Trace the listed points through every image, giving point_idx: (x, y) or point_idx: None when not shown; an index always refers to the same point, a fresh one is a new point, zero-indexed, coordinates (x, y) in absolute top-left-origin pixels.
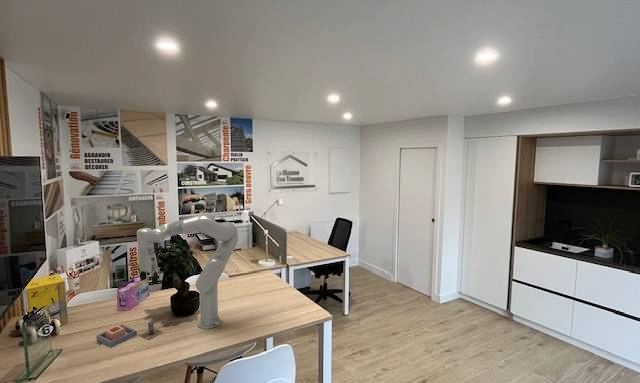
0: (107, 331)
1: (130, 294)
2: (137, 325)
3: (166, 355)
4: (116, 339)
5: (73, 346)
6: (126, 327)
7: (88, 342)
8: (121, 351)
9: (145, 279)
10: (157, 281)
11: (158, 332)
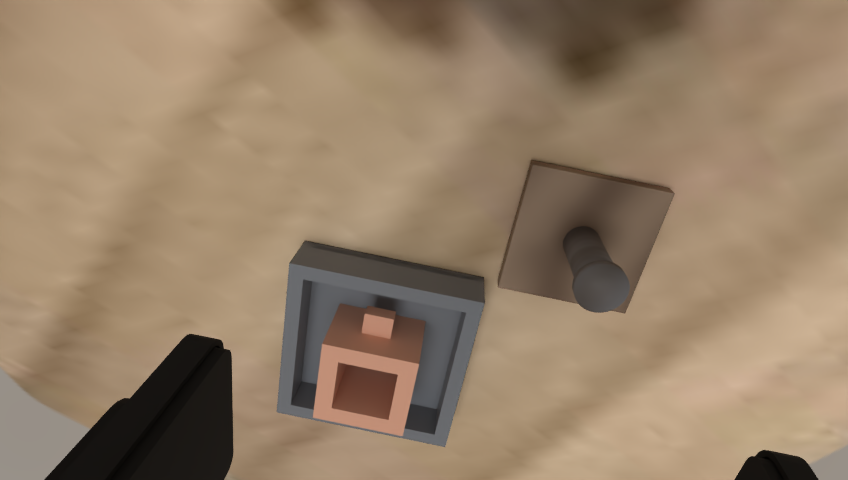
0: (342, 421)
1: None
2: (342, 146)
3: (844, 385)
4: (446, 416)
5: None
6: (368, 289)
7: (251, 394)
8: (523, 414)
9: (223, 353)
10: (796, 470)
11: (625, 209)
